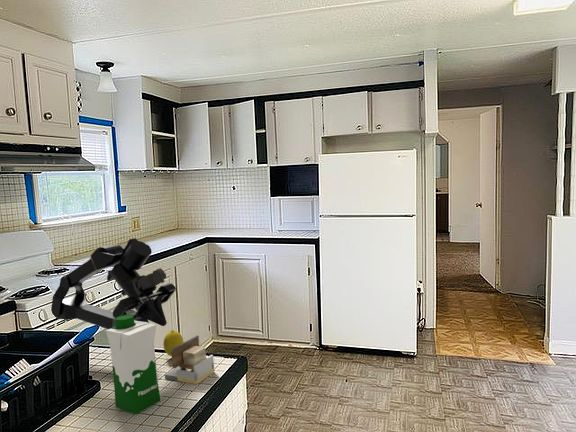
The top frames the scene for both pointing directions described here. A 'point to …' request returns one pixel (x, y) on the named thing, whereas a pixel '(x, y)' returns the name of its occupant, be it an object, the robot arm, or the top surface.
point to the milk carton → (133, 364)
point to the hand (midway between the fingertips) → (165, 324)
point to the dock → (198, 375)
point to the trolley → (188, 354)
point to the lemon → (172, 341)
